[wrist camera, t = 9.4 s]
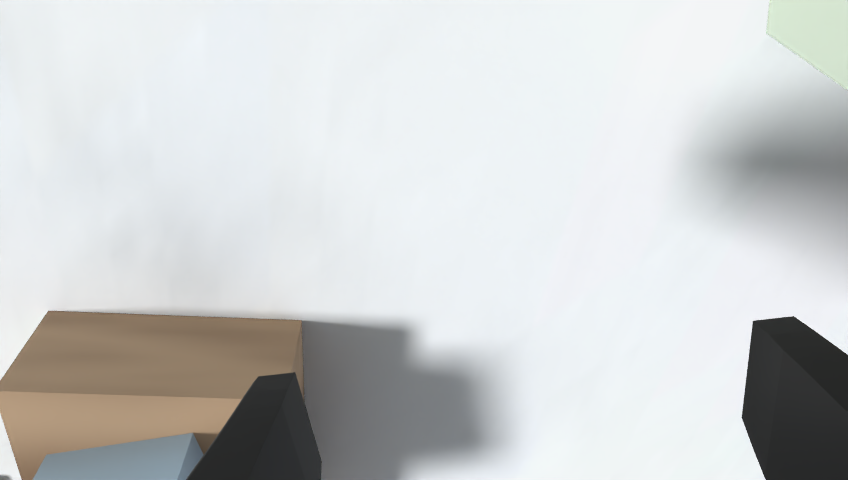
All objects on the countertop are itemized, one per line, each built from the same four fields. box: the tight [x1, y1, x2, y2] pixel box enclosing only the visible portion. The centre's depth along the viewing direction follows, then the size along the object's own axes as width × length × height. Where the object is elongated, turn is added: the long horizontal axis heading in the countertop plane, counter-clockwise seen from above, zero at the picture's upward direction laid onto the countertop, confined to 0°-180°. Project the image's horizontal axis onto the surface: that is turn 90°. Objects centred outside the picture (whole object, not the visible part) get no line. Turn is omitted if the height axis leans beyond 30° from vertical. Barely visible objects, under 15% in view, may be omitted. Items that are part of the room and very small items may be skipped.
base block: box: [0, 311, 304, 480], centre depth 25 cm, size 8×8×4 cm
